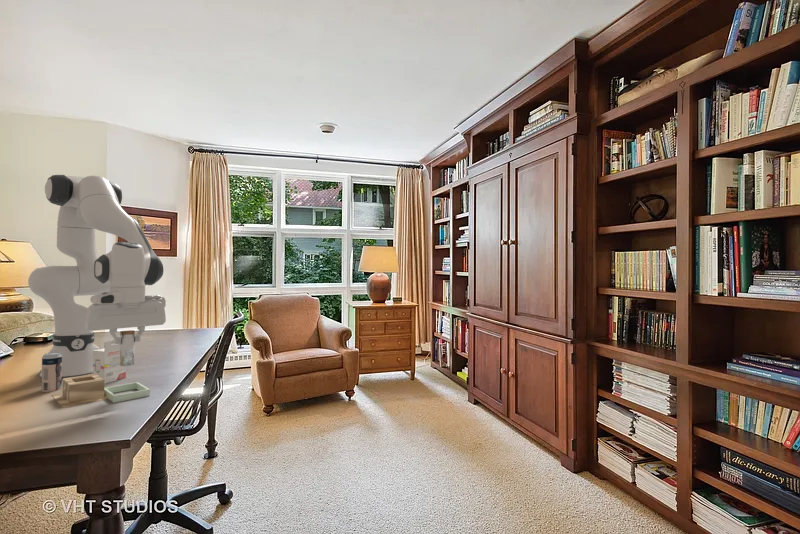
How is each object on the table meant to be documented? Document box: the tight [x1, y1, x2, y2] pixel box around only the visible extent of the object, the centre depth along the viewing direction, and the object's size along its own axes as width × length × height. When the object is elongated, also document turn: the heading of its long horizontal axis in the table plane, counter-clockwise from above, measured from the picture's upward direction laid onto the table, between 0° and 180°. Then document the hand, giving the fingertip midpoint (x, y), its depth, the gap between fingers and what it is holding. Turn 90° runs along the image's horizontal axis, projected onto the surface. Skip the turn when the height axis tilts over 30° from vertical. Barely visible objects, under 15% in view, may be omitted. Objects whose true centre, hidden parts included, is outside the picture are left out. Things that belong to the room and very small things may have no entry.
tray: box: [104, 381, 151, 403], centre depth 124 cm, size 11×9×3 cm
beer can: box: [41, 353, 63, 393], centre depth 128 cm, size 5×5×12 cm
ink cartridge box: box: [92, 339, 127, 385], centre depth 139 cm, size 9×5×15 cm, turn 168°
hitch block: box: [51, 373, 109, 409], centre depth 122 cm, size 16×12×6 cm
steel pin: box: [119, 329, 136, 367], centre depth 124 cm, size 4×4×10 cm
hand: (127, 342), depth 124 cm, fingers closed on steel pin, 4 cm apart
